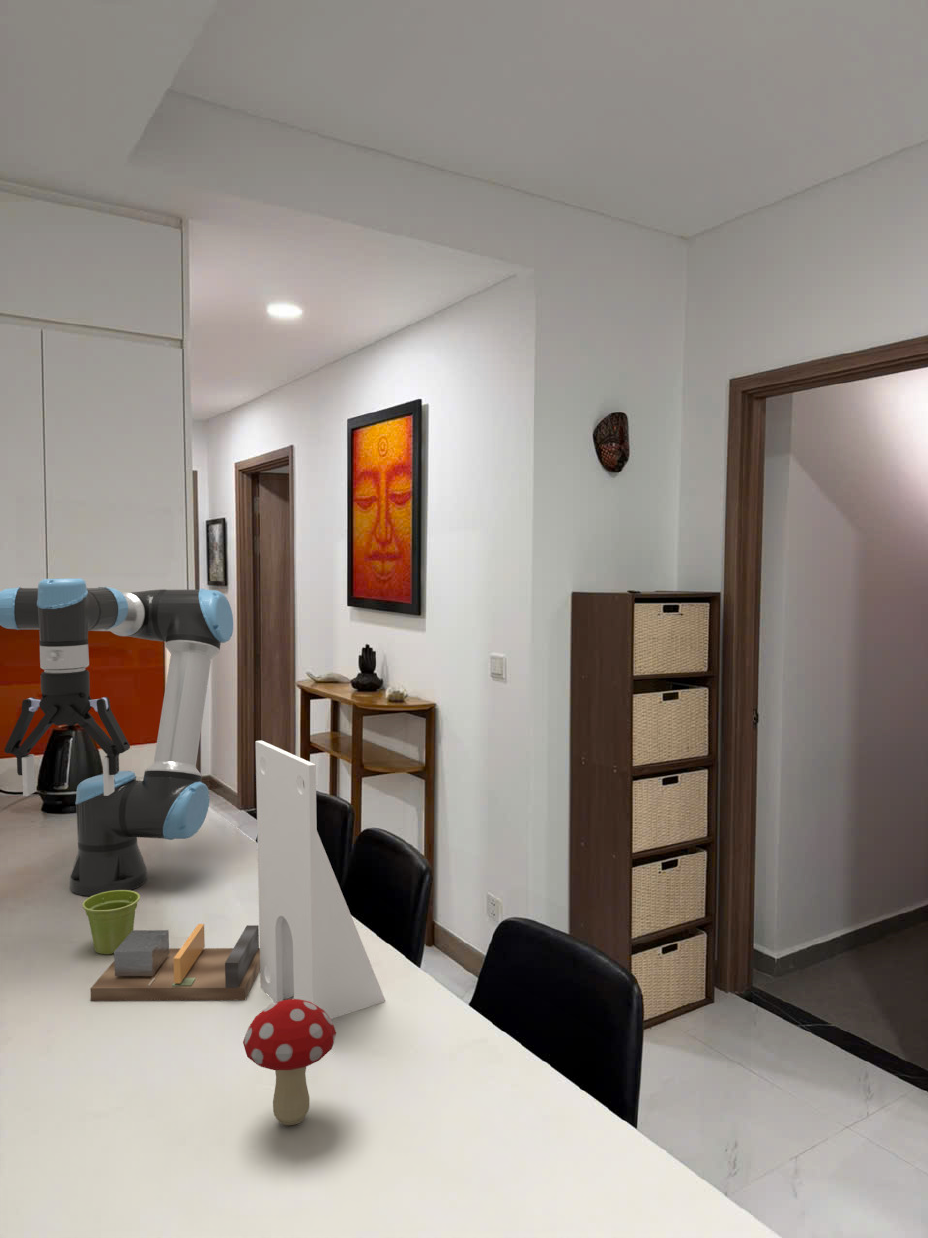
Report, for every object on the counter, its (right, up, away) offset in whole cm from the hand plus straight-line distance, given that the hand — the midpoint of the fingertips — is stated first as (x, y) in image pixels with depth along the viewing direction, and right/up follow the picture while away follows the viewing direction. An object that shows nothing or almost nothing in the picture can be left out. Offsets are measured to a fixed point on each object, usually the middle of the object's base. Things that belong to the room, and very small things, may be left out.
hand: (69, 794), depth 151 cm
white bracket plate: (+46, -30, -13) cm, 56 cm away
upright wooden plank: (+22, -27, -6) cm, 35 cm away
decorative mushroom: (+46, -32, -43) cm, 71 cm away
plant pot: (+5, -29, +6) cm, 30 cm away
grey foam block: (+15, -27, -6) cm, 31 cm away
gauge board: (+21, -29, -6) cm, 36 cm away
